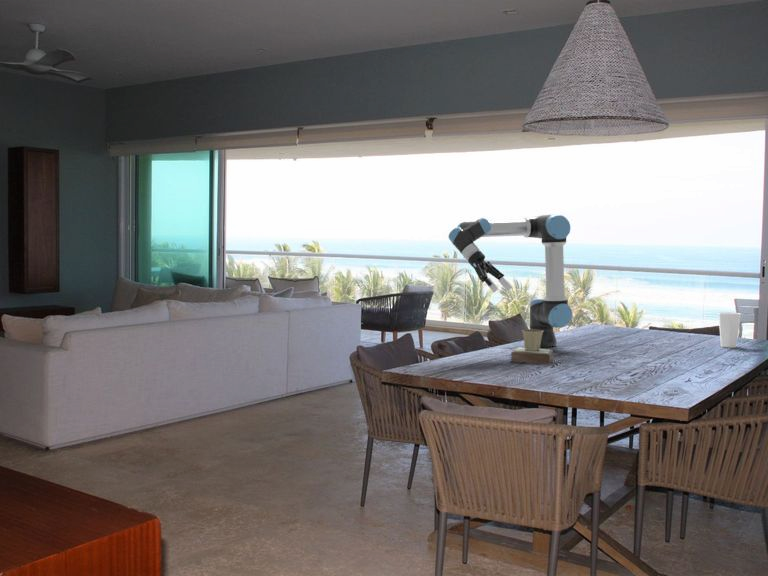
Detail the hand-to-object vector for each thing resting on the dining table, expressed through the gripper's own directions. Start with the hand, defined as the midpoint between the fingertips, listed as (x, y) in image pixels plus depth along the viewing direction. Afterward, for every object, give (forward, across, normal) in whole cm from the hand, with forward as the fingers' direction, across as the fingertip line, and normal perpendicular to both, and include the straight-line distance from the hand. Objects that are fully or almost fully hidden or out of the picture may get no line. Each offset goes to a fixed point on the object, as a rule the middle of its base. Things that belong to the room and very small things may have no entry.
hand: (503, 289), depth 355 cm
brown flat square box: (+33, +5, -9) cm, 34 cm away
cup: (+75, -104, +32) cm, 132 cm away
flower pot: (+30, +5, -6) cm, 31 cm away
